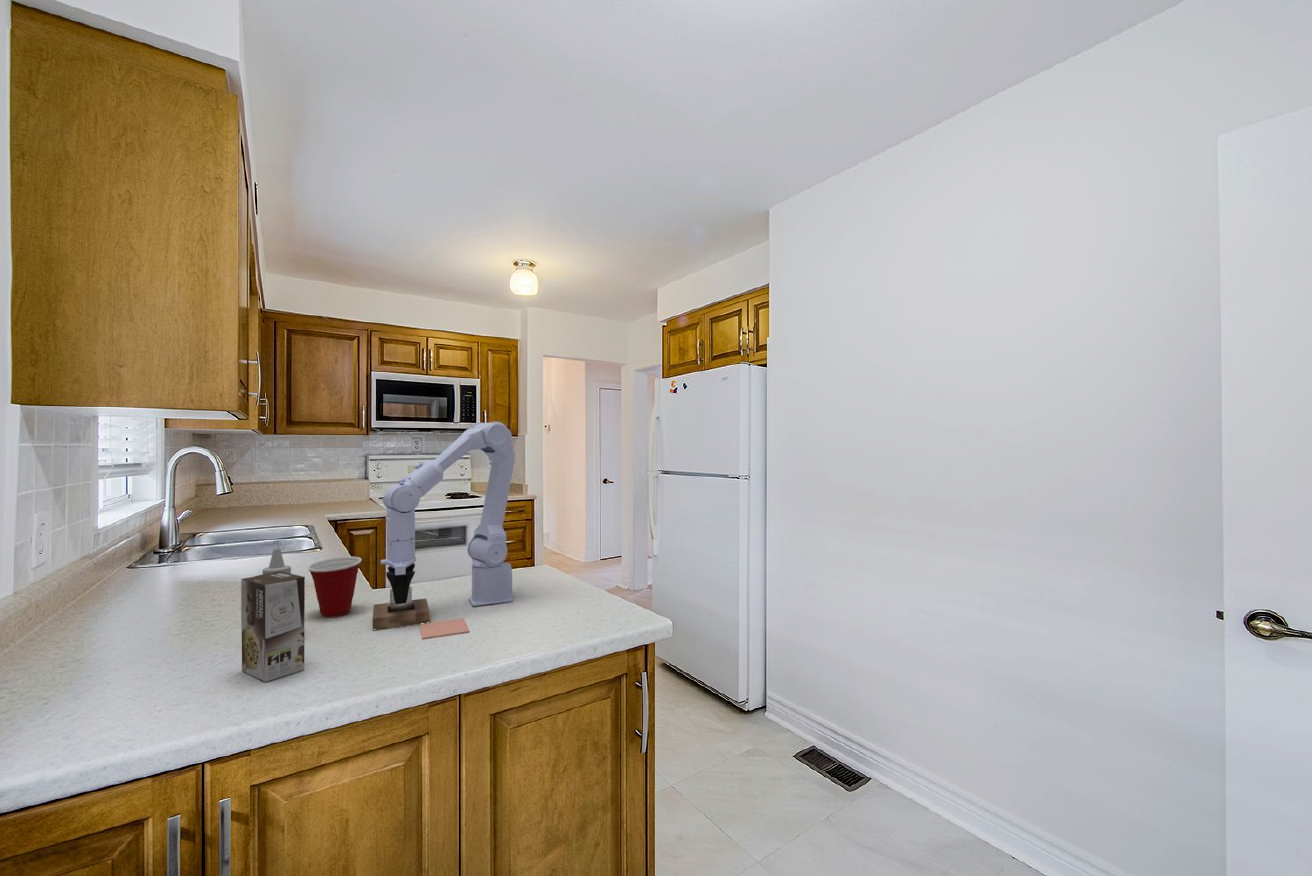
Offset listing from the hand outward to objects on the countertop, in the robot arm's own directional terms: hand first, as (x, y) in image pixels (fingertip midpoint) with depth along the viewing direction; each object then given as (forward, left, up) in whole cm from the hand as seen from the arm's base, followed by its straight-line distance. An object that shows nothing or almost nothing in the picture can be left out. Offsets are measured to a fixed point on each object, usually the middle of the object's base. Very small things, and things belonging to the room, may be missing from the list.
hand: (401, 600), depth 122 cm
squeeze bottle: (+23, +3, -4) cm, 23 cm away
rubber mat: (-8, +11, -4) cm, 14 cm away
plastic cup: (+14, -11, -4) cm, 18 cm away
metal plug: (0, 0, -3) cm, 3 cm away
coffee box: (+21, +20, -4) cm, 29 cm away
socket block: (0, 0, -4) cm, 4 cm away
